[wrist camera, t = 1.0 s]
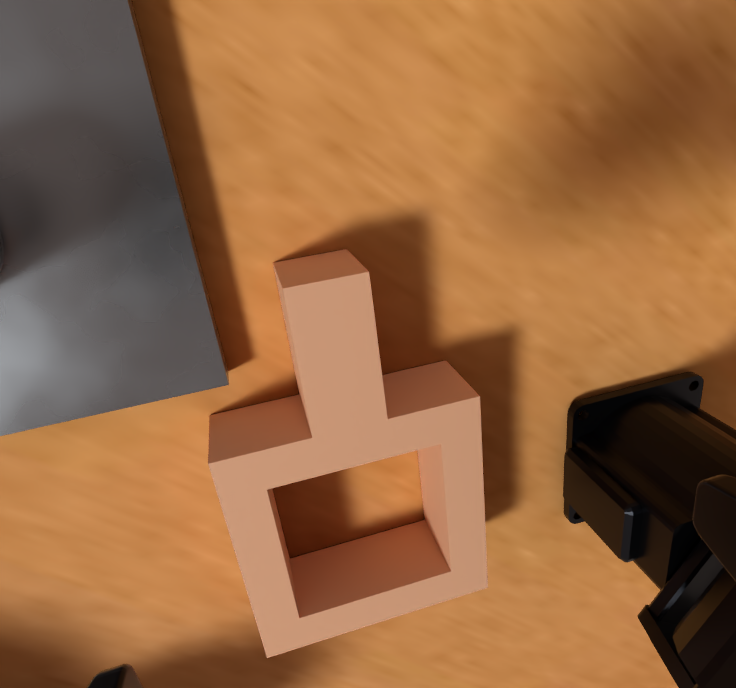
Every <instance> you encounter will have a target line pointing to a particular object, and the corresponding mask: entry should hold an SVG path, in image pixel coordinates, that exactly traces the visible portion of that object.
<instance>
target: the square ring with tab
mask: <svg viewBox="0 0 736 688" xmlns="http://www.w3.org/2000/svg"><path fill="white" fill-rule="evenodd" d="M273 266H274V271H275V276H276V281H277V286H278V291H279V296H280V301H281V306H282V311H283V316H284V321H285V325H286V330H287V335H288V340H289V345H290V350H291V355H292V360H293V365H294V370H295V375H296V380H297V385H298V390H299V395H295V396H290V397H286V398H282V399H278V400H273V401H269V402H265V403H260V404H256V405H252V406H248V407H243V408H239V409H235V410H230V411H226V412H222V413H218V414H213V415H210V418H209V454H208V465H209V468H210V471H211V475H212V478H213V481H214V485H215V488H216V491H217V494H218V498H219V501H220V504H221V508H222V511H223V514H224V518H225V521H226V524H227V527H228V531H229V534H230V537H231V541H232V544H233V547H234V551H235V554H236V557H237V561H238V564H239V567H240V570H241V574H242V577H243V580H244V584H245V587H246V590H247V594H248V597H249V600H250V603H251V607H252V610H253V613H254V617H255V620H256V623H257V627H258V630H259V633H260V636H261V640H262V643H263V646H264V650H265V653H266V656H267V658H269V657H272V656H275V655H279V654H282V653H285V652H288V651H291V650H294V649H297V648H300V647H304V646H307V645H310V644H313V643H316V642H319V641H322V640H325V639H329V638H332V637H335V636H338V635H341V634H344V633H347V632H350V631H354V630H357V629H360V628H363V627H366V626H369V625H372V624H376V623H379V622H382V621H385V620H388V619H391V618H394V617H397V616H401V615H404V614H407V613H410V612H413V611H416V610H419V609H422V608H426V607H429V606H432V605H435V604H438V603H441V602H444V601H448V600H451V599H454V598H457V597H460V596H463V595H466V594H469V593H473V592H476V591H479V590H482V589H485V588H488V579H487V555H486V530H485V506H484V482H483V458H482V433H481V409H480V396H479V395H478V394H477V393H476V391H475V390H474V389H473V388H472V387H471V386H470V385H469V384H468V383H467V382H466V381H465V380H464V379H463V378H462V377H461V376H460V375H459V373H458V372H457V371H456V370H455V369H454V368H453V367H452V366H451V365H450V364H449V363H448V362H447V361H446V360H445V361H441V362H436V363H432V364H428V365H424V366H419V367H415V368H411V369H406V370H402V371H398V372H393V373H389V374H385V375H382V370H381V362H380V355H379V347H378V339H377V331H376V323H375V315H374V307H373V299H372V291H371V283H370V275H369V271H368V270H367V269H366V268H365V267H364V266H363V265H362V264H361V263H360V262H359V261H358V260H357V259H356V258H355V257H354V256H353V255H352V254H351V253H350V252H349V251H348V250H347V249H344V250H339V251H333V252H328V253H323V254H317V255H312V256H306V257H301V258H296V259H290V260H285V261H280V262H274V263H273ZM416 450H418V460H419V470H420V479H421V489H422V499H423V509H424V519H425V520H422V521H419V522H415V523H412V524H408V525H405V526H401V527H398V528H395V529H391V530H388V531H384V532H381V533H377V534H374V535H370V536H367V537H363V538H360V539H356V540H353V541H349V542H346V543H342V544H339V545H336V546H332V547H329V548H325V549H322V550H318V551H315V552H311V553H308V554H304V555H301V556H297V557H294V558H289V554H288V550H287V546H286V542H285V538H284V534H283V530H282V526H281V522H280V518H279V514H278V510H277V506H276V501H275V497H274V493H273V489H272V488H275V487H279V486H283V485H287V484H291V483H295V482H298V481H302V480H306V479H310V478H314V477H317V476H321V475H325V474H329V473H333V472H336V471H340V470H344V469H348V468H352V467H355V466H359V465H363V464H367V463H371V462H374V461H378V460H382V459H386V458H390V457H394V456H397V455H401V454H405V453H409V452H413V451H416Z"/></svg>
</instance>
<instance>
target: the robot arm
mask: <svg viewBox="0 0 736 688" xmlns="http://www.w3.org/2000/svg"><path fill="white" fill-rule="evenodd" d="M702 390H703V378H702V377H701V376H699V375H697V374H695V373H693V372H687V373H683V374H679V375H675V376H671V377H667V378H663V379H660V380H656V381H652V382H648V383H644V384H640V385H637V386H633V387H629V388H625V389H621V390H617V391H613V392H610V393H606V394H602V395H598V396H594V397H590V398H587V399H583V400H579V401H576V402H574V403H573V404H572V405H571V406H570V408H569V409H568V414H567V441H566V453H565V459H564V487H563V497H564V515H565V516H566V518H567V519H568V520H569V521H570V522H571V523H573V524H576V523H580V522H584V521H585V522H586V523H587V524H588V525H589V526H590V527H591V528H592V529H593V531H594V532H595V533H596V534H597V535H598V536H599V537H600V538H601V539H602V540H603V541H604V543H605V544H606V545H607V546H608V547H609V548H610V549H611V550H612V551H613V552H614V554H615V555H616V556H617V557H618V558H619V559H621V560H622V561H624V562H630V561H634V562H635V563H636V564H637V565H638V567H639V568H640V569H641V570H642V571H643V572H644V573H645V574H646V575H647V576H648V577H649V578H650V579H651V580H652V581H653V583H654V584H655V585H656V586H657V587H658V588H659V589H660V590H661V591H660V592H659V593H658V594H657V596H656V597H655V598H654V600H653V601H652V602H651V604H650V605H645V607H644V608H643V609H642V611H641V612H640V613H639V614H638V619H639V620H640V622H641V624H642V625H643V627H644V629H645V631H646V632H647V634H648V636H649V637H650V640H651V642H652V643H653V645H654V647H655V648H656V650H657V652H658V654H659V655H660V657H661V659H662V660H663V662H664V664H665V665H666V667H667V669H668V670H669V672H670V674H671V676H672V677H673V679H674V681H675V682H676V684H677V686H678V687H679V688H736V430H735V429H733V428H731V427H730V426H728V425H726V424H725V423H723V422H721V421H720V420H718V419H716V418H715V417H713V416H711V415H710V414H708V413H706V412H705V411H703V410H701V409H700V403H701V396H702ZM581 411H583V412H582V413H581V414H580V415H579V413H580V412H581ZM87 688H143V687H142V685H141V683H140V681H139V679H138V677H137V675H136V673H135V671H134V669H133V668H132V666H130V665H129V664H123V665H119V666H116V667H113V668H110V669H107V670H104V671H101V672H99V673H98V674H97V675H96V676H95V677H94V678H93V679H92V681H91V682H90V684H89V685H88V687H87Z"/></svg>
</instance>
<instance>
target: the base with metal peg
mask: <svg viewBox="0 0 736 688" xmlns="http://www.w3.org/2000/svg"><path fill="white" fill-rule="evenodd" d="M226 385H229V379H228V369H227V365H226V362H225V358H224V354H223V350H222V346H221V342H220V339H219V335H218V331H217V327H216V323H215V319H214V316H213V312H212V308H211V304H210V300H209V296H208V293H207V289H206V285H205V281H204V277H203V273H202V270H201V266H200V262H199V258H198V254H197V250H196V247H195V243H194V239H193V235H192V231H191V227H190V224H189V220H188V216H187V212H186V208H185V204H184V201H183V197H182V193H181V189H180V185H179V181H178V178H177V174H176V170H175V166H174V162H173V158H172V155H171V151H170V147H169V143H168V139H167V135H166V132H165V128H164V124H163V120H162V116H161V112H160V109H159V105H158V101H157V97H156V93H155V89H154V86H153V82H152V78H151V74H150V70H149V66H148V63H147V59H146V55H145V51H144V47H143V43H142V40H141V36H140V32H139V28H138V24H137V20H136V17H135V13H134V9H133V5H132V1H131V0H0V436H3V435H7V434H12V433H16V432H20V431H25V430H29V429H34V428H38V427H43V426H47V425H52V424H56V423H61V422H65V421H69V420H74V419H78V418H83V417H87V416H92V415H96V414H101V413H105V412H110V411H114V410H119V409H123V408H127V407H132V406H136V405H141V404H145V403H150V402H154V401H159V400H163V399H168V398H172V397H176V396H181V395H185V394H190V393H194V392H199V391H203V390H208V389H212V388H217V387H221V386H226Z"/></svg>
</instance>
